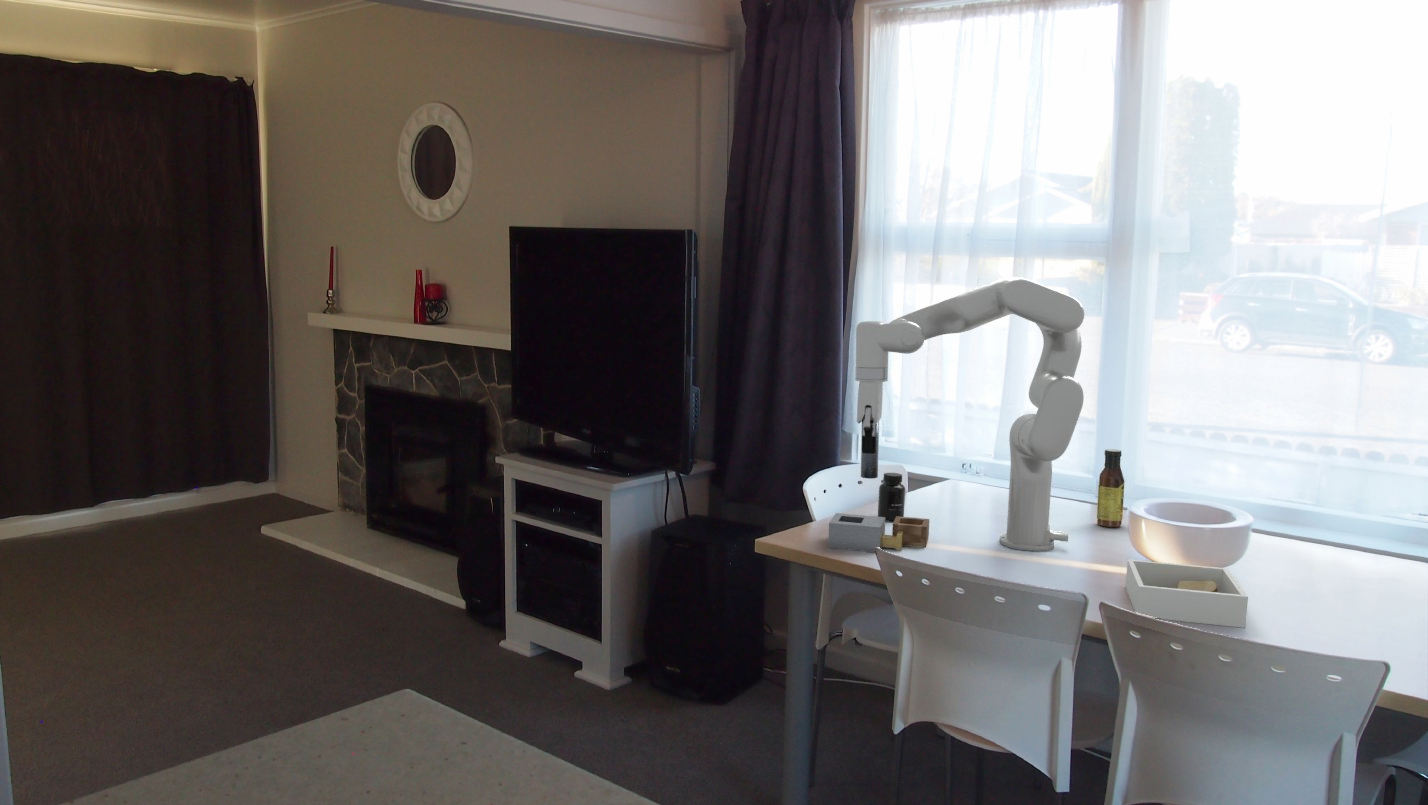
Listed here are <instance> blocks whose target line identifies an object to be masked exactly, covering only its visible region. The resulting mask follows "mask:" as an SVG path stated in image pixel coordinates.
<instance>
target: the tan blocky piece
mask: <svg viewBox="0 0 1428 805" xmlns="http://www.w3.org/2000/svg"><path fill="white" fill-rule="evenodd" d="M903 547H904V546H903V532H902V531H898V533H897V536H893V535H892V534H891V535H890V534H885V535H882V541H881V548H887V549H895V551H902V549H903Z"/></svg>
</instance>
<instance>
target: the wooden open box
mask: <svg viewBox="0 0 1428 805" xmlns="http://www.w3.org/2000/svg"><path fill="white" fill-rule="evenodd" d="M898 531H902V532H903V547H904V546H905V547H914V548H915V547H916V548H925V549H926V548H927V546H928V542H929V537H930V536H929V535H930V532H929V531H930V518H923V517H922V518H920V517H909V516H904V517H899V516H896V518H895V520H894V522H893V523H892V533H891V535H893V536H897V533H898Z"/></svg>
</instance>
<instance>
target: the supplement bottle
mask: <svg viewBox="0 0 1428 805" xmlns="http://www.w3.org/2000/svg"><path fill="white" fill-rule="evenodd" d="M882 481H883V483H881V484H880V485H879V487H878V499H877V501H878V504H877V517H885V522H894V520H895V518H896V516H899V517H905V502H906V501H905V500H906V486H904V484H902V483H903V474H902V473H897V472H885V473H884V474H883V478H882Z"/></svg>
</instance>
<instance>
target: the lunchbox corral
mask: <svg viewBox="0 0 1428 805" xmlns="http://www.w3.org/2000/svg"><path fill="white" fill-rule="evenodd" d="M1179 581H1213V582H1215V583H1216V584H1217V592H1207V591H1196V590H1186V589H1177V586H1178V582H1179ZM1156 586H1158V587H1156ZM1125 590H1126V593H1127V595H1128V598H1129V600H1130V603H1131V606H1132V608H1133V611H1134V612H1135V611H1136V612H1138V613H1141V614H1145V615H1149V616H1153V617H1157V618H1161V619H1160V620H1166V621H1173V622H1174V621H1175V622H1176V621H1177V622H1184V623H1196V624H1203V625H1205V624H1206V625H1212V626H1213V625H1216V626H1224V627H1233V628H1243V629H1245V628H1246V624H1247V622H1246V621H1247V613H1248V612H1247V611H1248V602H1249V601H1248V600H1249V595H1247V593H1246V592H1245V590H1244V589H1243V587H1241V585H1240V584H1239V583H1238V581H1237V580H1236V579H1235V577H1234V576H1233V574H1232V573H1231V571H1230V570H1229V568H1226V567H1217V566H1205V565H1204V566H1203V565H1193V564H1183V563H1173V562H1160V561H1150V560H1141V559H1140V560H1137V559H1127V564H1126V576H1125Z"/></svg>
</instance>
